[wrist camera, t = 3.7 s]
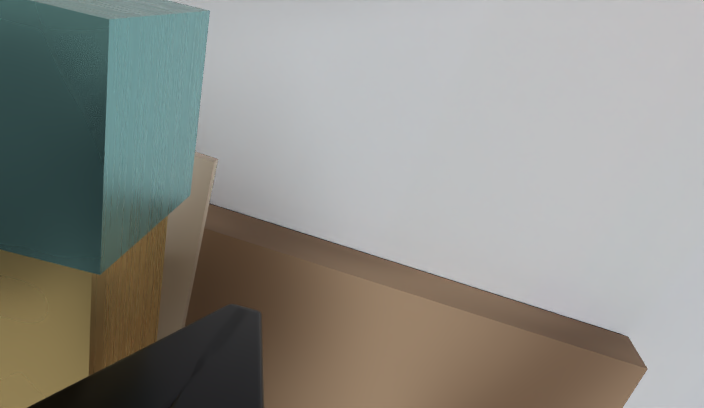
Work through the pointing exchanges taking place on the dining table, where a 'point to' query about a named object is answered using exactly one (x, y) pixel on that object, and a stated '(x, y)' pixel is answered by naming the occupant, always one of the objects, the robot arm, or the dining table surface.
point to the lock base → (378, 322)
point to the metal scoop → (89, 179)
